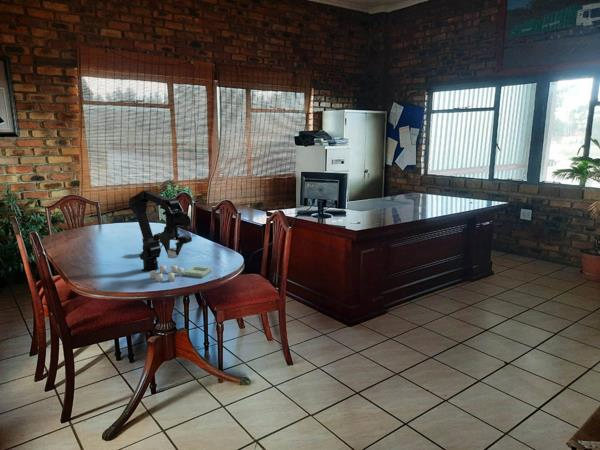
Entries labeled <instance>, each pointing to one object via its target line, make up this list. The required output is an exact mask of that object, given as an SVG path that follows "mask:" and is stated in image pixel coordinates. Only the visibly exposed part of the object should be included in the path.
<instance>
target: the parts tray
mask: <svg viewBox="0 0 600 450" xmlns="http://www.w3.org/2000/svg"><path fill="white" fill-rule="evenodd" d="M211 273H212V267H203V266H196V265H195V266H194V265H193V266H192V267H190V268H188V269H186V270H185V271H184V277H190V276H191V278H200V279H204V278H205V277H207V276H208V275H210V274H211Z"/></svg>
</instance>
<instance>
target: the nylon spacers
mask: <svg viewBox="0 0 600 450" xmlns="http://www.w3.org/2000/svg"><path fill="white" fill-rule="evenodd" d="M170 269H171V270H170V271H171V272H169V273H167V265H160V266H159V272H158V273H157V270H155V271H149V278H150V280H155V282H156V283H161V282H163V280H164V279H163V275H164V274H167V282H175V274H177V276H179V277H182V276H185V271H184V267H178V264H175V265H171V267H170Z"/></svg>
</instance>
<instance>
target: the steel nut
mask: <svg viewBox="0 0 600 450" xmlns="http://www.w3.org/2000/svg"><path fill="white" fill-rule="evenodd" d="M167 252H168V254H167V258H168V259H177V258H178V257H179V255H178V256H177V253H176V247H170V248H169V249H167Z"/></svg>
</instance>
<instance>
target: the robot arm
mask: <svg viewBox="0 0 600 450" xmlns="http://www.w3.org/2000/svg"><path fill="white" fill-rule="evenodd" d="M149 202H151V203H154V204H156V205H159V207H160V208H161V209H162V210H164V211H163V212H162V215H164V217H165V226H164V227H163V231H162V232H157V233H154V234H153V231H152V227H151V224H150V221H149V219H148V215H147V208H148V203H149ZM128 206H129V207H130V208H129V209H130V210H131V211H132V212H133V213H134V214H135V216H136V219H137V222H138V226H139V229H140V232H141V235H142V238H143V239H144V243H143V242H142V252H141V253H139V258H140V260H142V264H143V267H142V269H141V271H142V272H143V271H144V272H150V271H157V270H158V269H159V270H160V266H159V262H158V258H160V256H161V252H162V249H161V248H162V247H163V248H164V250H165V253H166V255H168V252H167V249H169V248H171V241H177V242H174V245H175V246H176V247H175V248H176V253H177V256H178V257H179V255H180V253H181V250H182V248H183V245H184V244H188V243H191V242H193V239H192V236H191V235H186V234H184V235H182V236H181V235H180V233H179V228H180V227H183V228H187V227H189V226H190V224H191V221H192V220H191V217H190V216H189V215H188V212H185V211H184V209H183V207H182V206H181V204H180V202H179V199H177V198H176V197H166V196H163V195H161V194H158V193H157V192H154V191H152V190H150V189H146V190H141V191H140V192H138V193H137V194H135V195H133V196H132V197H130V198H129V200H128ZM159 240H160V241H159ZM162 244H163V246H162ZM161 246H162V247H161Z"/></svg>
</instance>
